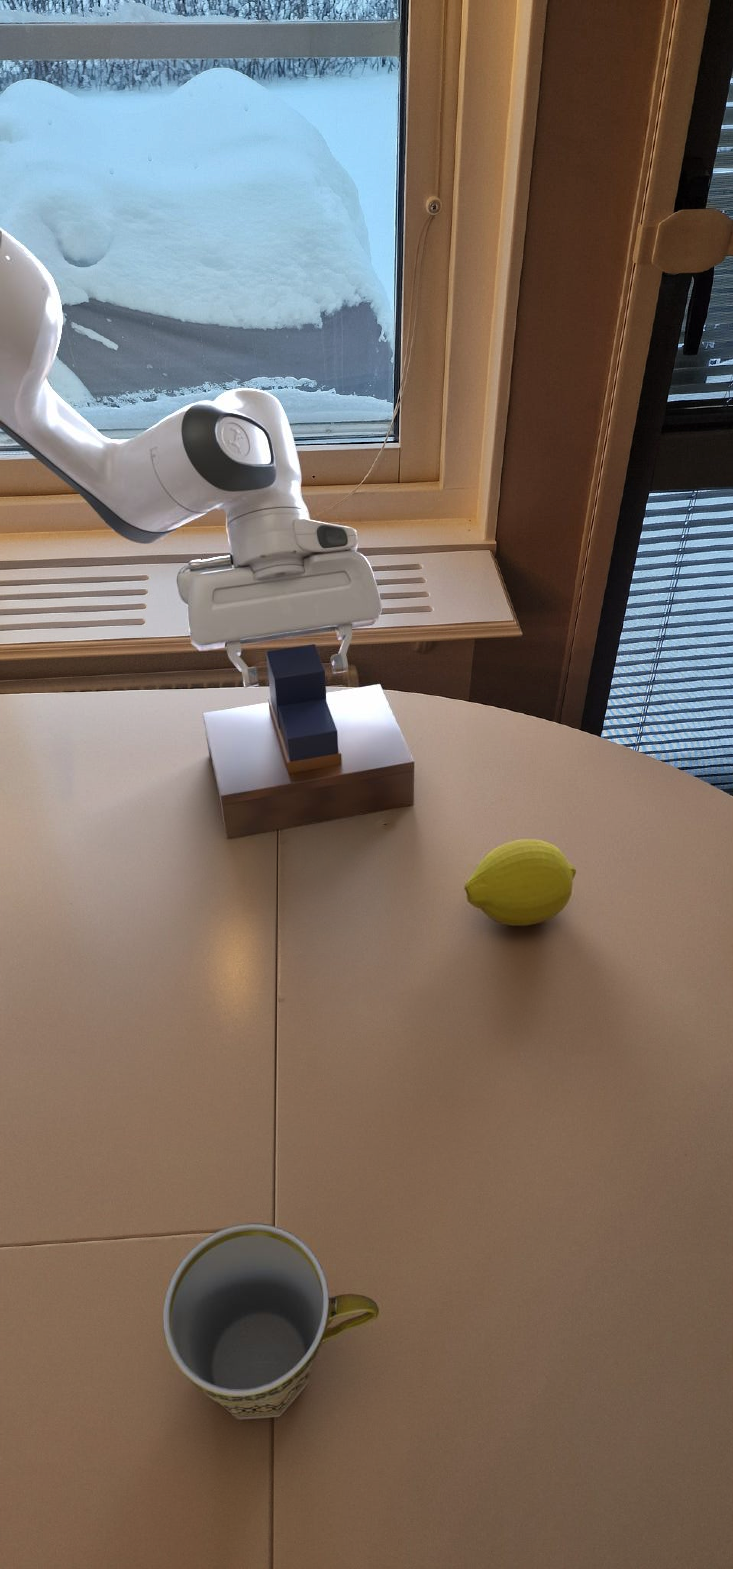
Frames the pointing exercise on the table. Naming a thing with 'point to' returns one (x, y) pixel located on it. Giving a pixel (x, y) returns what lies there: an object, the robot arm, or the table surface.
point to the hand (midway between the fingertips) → (296, 678)
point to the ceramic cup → (253, 1317)
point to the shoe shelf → (280, 800)
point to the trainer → (301, 709)
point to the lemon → (521, 882)
